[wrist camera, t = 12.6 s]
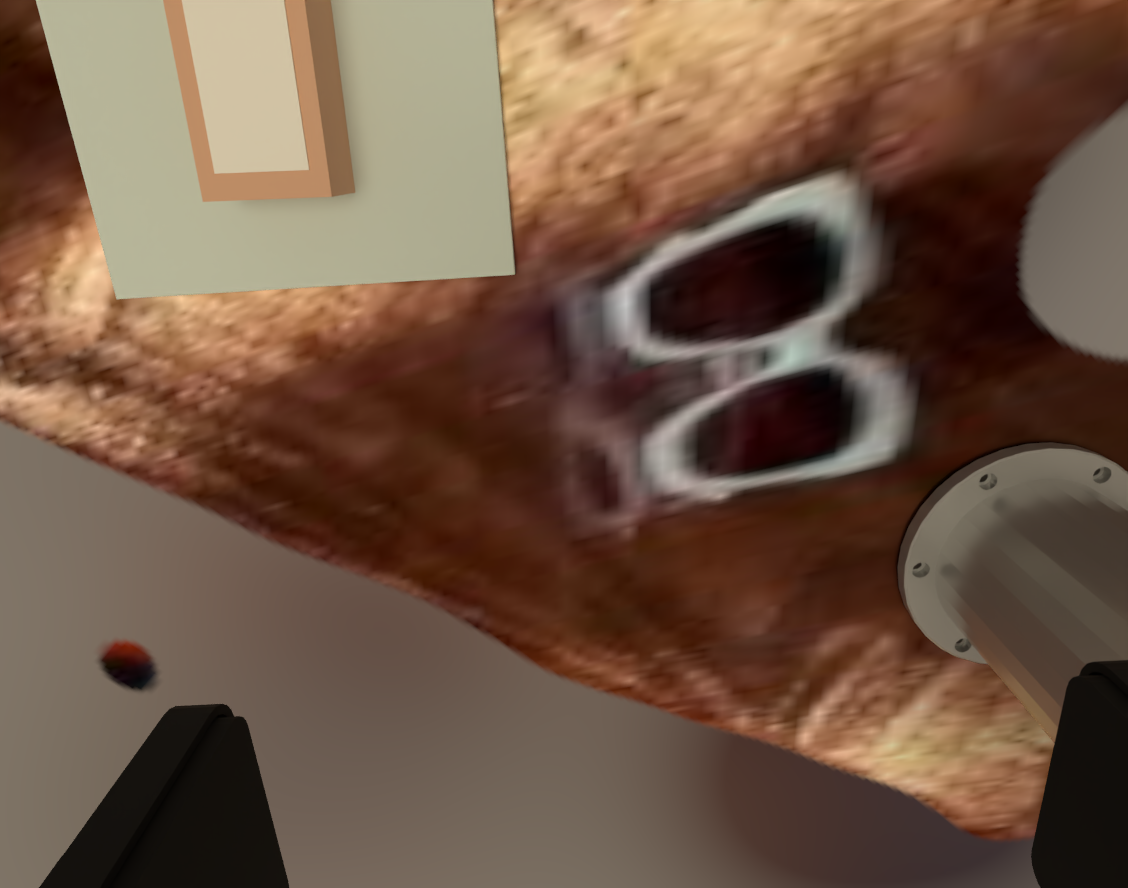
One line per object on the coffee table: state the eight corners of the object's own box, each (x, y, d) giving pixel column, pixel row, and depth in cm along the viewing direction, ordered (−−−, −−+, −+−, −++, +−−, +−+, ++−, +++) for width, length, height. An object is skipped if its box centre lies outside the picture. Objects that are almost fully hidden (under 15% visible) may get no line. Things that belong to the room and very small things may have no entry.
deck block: (355, 192, 33) (331, 196, 29) (239, 197, 33) (201, 201, 29) (327, -22, 30) (297, -46, 26) (201, -17, 30) (153, -40, 26)
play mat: (480, -156, 29) (478, -162, 28) (515, 272, 34) (514, 274, 34) (12, -122, 29) (1, -127, 28) (123, 296, 35) (116, 299, 34)
